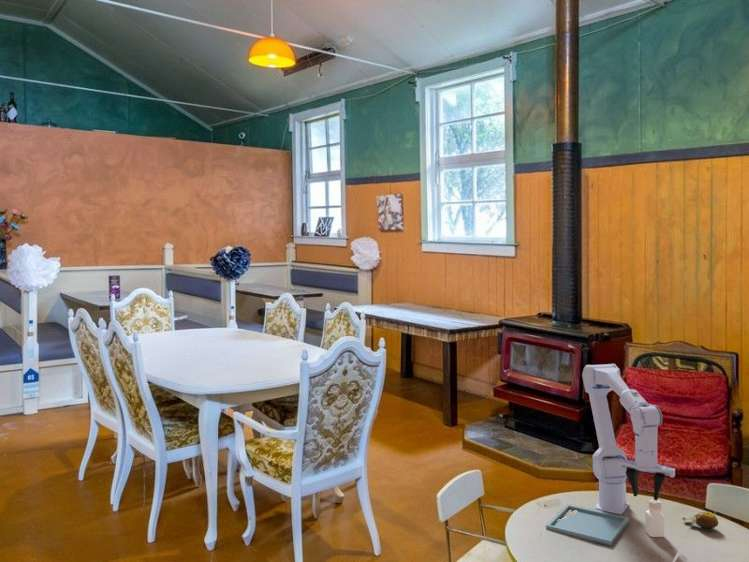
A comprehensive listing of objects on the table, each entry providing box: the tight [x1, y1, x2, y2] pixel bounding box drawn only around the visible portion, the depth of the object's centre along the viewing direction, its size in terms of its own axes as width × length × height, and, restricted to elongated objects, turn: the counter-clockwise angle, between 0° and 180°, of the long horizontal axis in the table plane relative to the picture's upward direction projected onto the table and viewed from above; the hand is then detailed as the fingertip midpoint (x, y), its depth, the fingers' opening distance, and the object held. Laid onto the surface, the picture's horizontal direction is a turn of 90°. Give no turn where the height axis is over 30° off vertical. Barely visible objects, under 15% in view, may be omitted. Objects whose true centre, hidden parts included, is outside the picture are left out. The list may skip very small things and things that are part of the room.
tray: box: [545, 504, 629, 547], centre depth 183 cm, size 18×18×2 cm
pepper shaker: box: [644, 498, 665, 538], centre depth 177 cm, size 4×4×10 cm
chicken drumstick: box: [682, 511, 719, 530], centre depth 183 cm, size 8×8×4 cm
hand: (645, 497), depth 177 cm, fingers open, 5 cm apart
